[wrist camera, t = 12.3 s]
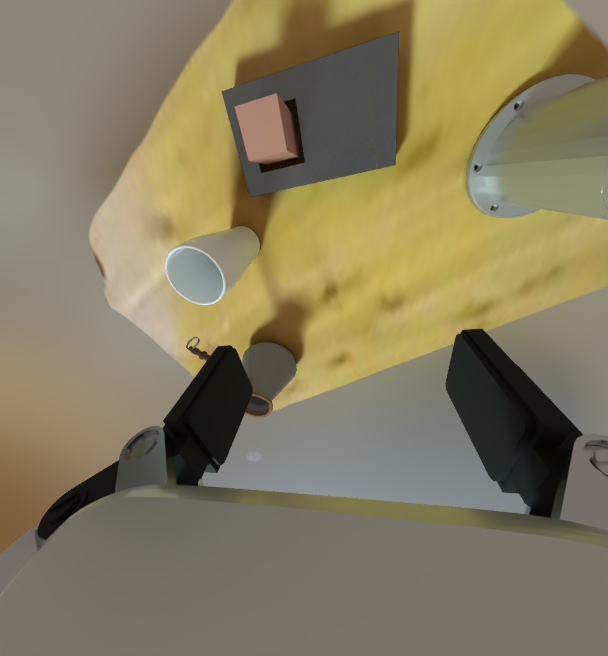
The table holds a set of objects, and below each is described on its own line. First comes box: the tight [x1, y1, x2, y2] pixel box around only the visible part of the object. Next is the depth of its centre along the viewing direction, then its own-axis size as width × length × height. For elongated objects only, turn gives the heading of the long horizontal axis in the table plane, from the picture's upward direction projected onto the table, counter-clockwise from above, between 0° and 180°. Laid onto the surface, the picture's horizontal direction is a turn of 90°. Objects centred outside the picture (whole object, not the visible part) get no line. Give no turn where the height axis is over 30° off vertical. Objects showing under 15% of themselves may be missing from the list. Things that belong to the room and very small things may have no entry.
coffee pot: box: [186, 337, 297, 417], centre depth 40 cm, size 21×12×15 cm, turn 25°
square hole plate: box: [222, 31, 399, 197], centre depth 26 cm, size 18×10×3 cm, turn 101°
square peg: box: [235, 93, 301, 165], centre depth 25 cm, size 4×4×9 cm
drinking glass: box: [165, 226, 260, 305], centre depth 30 cm, size 7×7×15 cm
